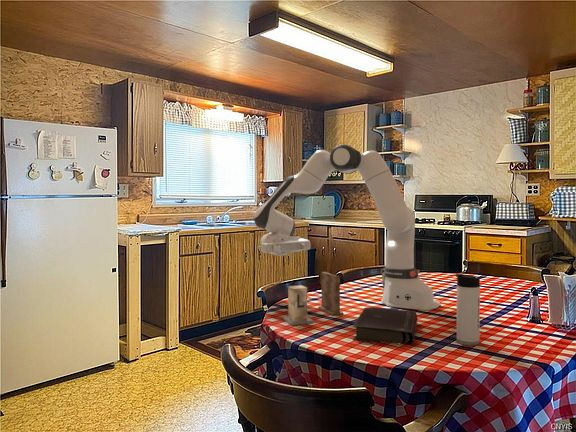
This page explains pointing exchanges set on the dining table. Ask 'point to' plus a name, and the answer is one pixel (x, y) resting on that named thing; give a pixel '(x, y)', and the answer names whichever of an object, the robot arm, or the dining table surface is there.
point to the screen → (330, 294)
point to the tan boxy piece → (297, 303)
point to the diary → (385, 325)
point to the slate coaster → (297, 321)
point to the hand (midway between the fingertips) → (292, 247)
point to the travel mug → (468, 310)
